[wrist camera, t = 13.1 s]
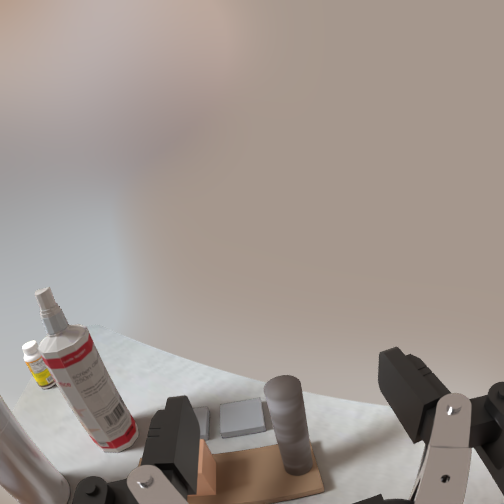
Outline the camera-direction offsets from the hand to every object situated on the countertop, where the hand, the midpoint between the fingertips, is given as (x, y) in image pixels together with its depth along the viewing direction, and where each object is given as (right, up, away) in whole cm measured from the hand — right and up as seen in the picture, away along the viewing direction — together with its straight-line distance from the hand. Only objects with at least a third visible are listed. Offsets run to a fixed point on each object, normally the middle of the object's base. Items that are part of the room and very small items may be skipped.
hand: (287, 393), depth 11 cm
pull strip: (-5, -21, +17) cm, 28 cm away
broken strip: (-7, -19, +27) cm, 34 cm away
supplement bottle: (-47, -24, +41) cm, 67 cm away
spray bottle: (-22, -23, +26) cm, 41 cm away
